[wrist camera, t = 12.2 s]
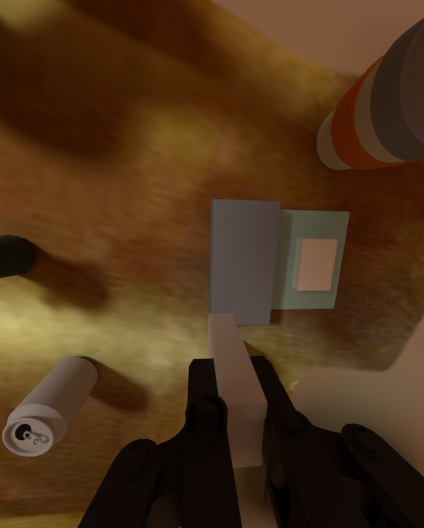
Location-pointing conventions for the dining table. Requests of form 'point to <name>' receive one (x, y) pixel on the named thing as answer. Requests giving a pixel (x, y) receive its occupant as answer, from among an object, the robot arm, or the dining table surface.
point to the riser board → (243, 258)
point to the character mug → (14, 256)
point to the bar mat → (289, 230)
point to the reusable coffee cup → (380, 112)
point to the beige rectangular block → (314, 264)
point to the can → (50, 408)
